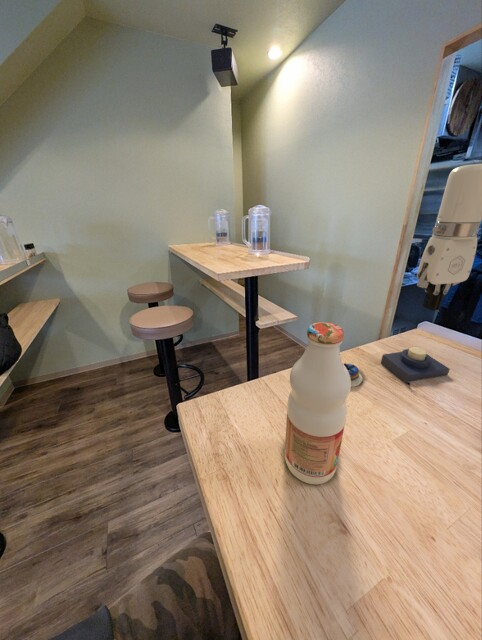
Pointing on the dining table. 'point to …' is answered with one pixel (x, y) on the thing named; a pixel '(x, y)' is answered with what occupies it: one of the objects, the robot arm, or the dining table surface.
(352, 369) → the dessert
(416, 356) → the push cap
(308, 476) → the fruit juice
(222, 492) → the dining table surface
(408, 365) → the push cap base
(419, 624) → the dining table surface
